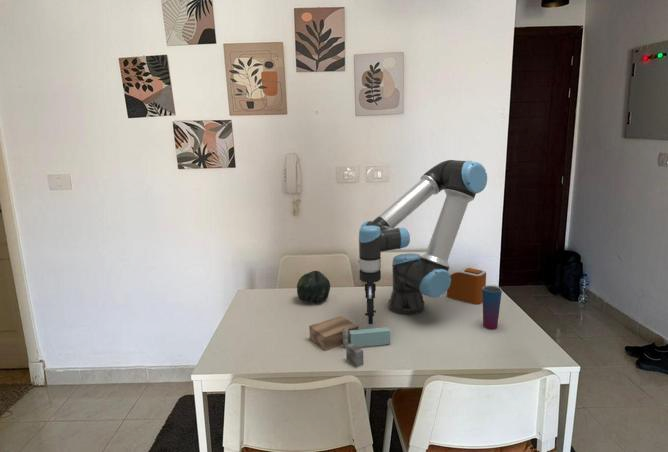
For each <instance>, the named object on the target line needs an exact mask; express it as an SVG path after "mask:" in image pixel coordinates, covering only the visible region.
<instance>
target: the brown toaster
mask: <svg viewBox="0 0 668 452" xmlns="http://www.w3.org/2000/svg"><path fill="white" fill-rule="evenodd" d="M450 276H451V277H450V278H451V284H450V287H449V288H448V290H447V291H446V298H450V299H451V300H452V299H453V300H456V301H461V302H464V303H468V304H472V305H481V304H483V294H482V288H483V287H484V286H487V271H485V270H482V269H476V268H472V267H464V268H461V269H458V270H457V271H454V272H453V273H451V274H450Z"/></svg>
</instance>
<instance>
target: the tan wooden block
mask: <svg viewBox="0 0 668 452" xmlns="http://www.w3.org/2000/svg"><path fill="white" fill-rule="evenodd" d="M308 328H309V339H310V340H311V341H313V342H314V343H315V344H317V345H318V347H321V349H323V350H324V351H328V350H331V349H335V348H338V347H340V346H342V348H344V349H345V350H346V351H345V352H346V360H347V362H349V363H351V364H353V365H354V366H355V367H356V368H358V367H359V368H360V366H363V364H364V350H363V349H362V348H361V347H357V346H356V345H354V344H353V343H351V344H350V341H349V331H350V330H359V325H357V324H355V323H354V322H352V321H350V320H348V319H347V318H345V317H344V316H342V315H341V316H337V317H334V318H330V319H327V320H324V321H321V322H317V323H313V324H310V325H309V326H308Z"/></svg>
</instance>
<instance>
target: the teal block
mask: <svg viewBox="0 0 668 452" xmlns="http://www.w3.org/2000/svg"><path fill="white" fill-rule="evenodd" d="M349 341H350V342H349V344H351V343H353V344H354V345H356V346H357V347H359V348H362V347H373V346H382V345H383V346H384V345H391V329H390V328H389V326H386V327H374V328H372V329H367V328H364V329H358V330H350V331H349Z"/></svg>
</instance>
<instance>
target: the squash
mask: <svg viewBox="0 0 668 452" xmlns="http://www.w3.org/2000/svg"><path fill="white" fill-rule="evenodd" d="M330 282H331V281H330V280H329V279H328V278H327V277H326V276H325V274H324V273H322V272H321V271H319V270H313V271H311V272H307V273H304V274H303V275H302V276H301V277H300V278H299V279H298V282H297V284H296V292H297V297H298V298H299V300H300V301H303V302H307V303H309V302H311V303H314V302H315V303H316V304H317V303H318V304H320V303H322V302H324V301H326V300H327V299H328V297H329V295H330V291H331V283H330Z"/></svg>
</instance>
